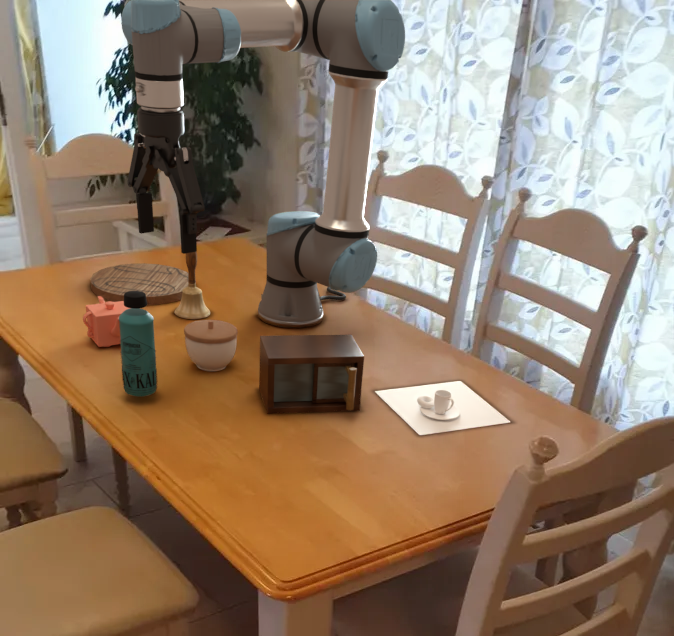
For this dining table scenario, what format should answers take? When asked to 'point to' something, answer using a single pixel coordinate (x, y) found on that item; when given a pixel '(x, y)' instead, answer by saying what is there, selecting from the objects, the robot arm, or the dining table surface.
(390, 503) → the dining table surface
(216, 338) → the trinket box
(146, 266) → the trivet
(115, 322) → the teapot
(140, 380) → the beverage bottle
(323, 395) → the door
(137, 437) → the dining table surface
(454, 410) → the teacup and saucer
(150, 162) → the robot arm
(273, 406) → the cabinet
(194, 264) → the hand bell
